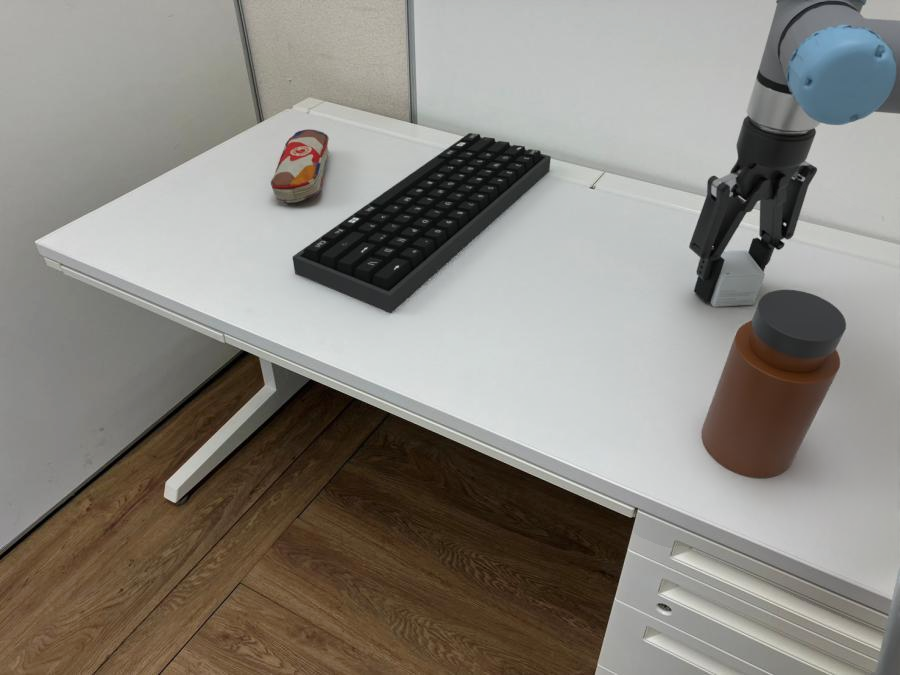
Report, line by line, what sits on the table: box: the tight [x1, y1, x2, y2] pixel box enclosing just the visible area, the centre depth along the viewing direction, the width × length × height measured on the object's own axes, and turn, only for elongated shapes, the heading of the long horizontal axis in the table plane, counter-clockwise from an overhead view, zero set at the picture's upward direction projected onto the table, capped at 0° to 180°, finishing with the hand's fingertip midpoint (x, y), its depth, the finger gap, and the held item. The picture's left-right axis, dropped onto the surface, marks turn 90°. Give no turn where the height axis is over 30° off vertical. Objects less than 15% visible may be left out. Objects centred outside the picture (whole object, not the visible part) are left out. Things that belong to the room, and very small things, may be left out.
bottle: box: [701, 289, 847, 479], centre depth 67 cm, size 9×9×17 cm
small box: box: [710, 250, 766, 308], centre depth 90 cm, size 6×6×5 cm
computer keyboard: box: [291, 132, 552, 314], centre depth 104 cm, size 45×16×4 cm, turn 148°
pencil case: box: [270, 128, 330, 204], centre depth 113 cm, size 11×20×5 cm, turn 167°
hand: (725, 290), depth 91 cm, fingers closed on small box, 6 cm apart
